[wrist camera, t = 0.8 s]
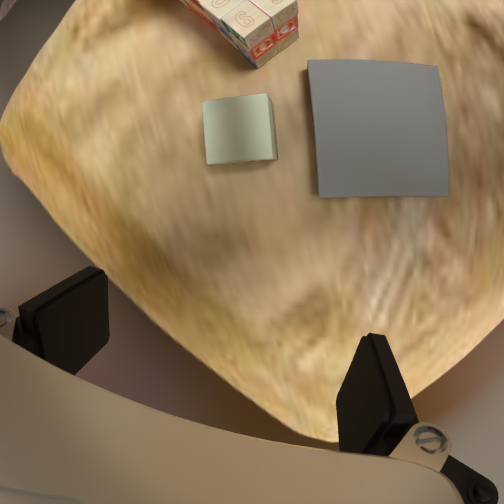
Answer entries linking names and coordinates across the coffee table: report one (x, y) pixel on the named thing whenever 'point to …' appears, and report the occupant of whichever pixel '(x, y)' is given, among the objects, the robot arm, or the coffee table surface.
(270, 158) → the sage cube
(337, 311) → the coffee table surface
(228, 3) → the stack of blocks
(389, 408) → the robot arm
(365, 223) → the coffee table surface
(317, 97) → the plinth
